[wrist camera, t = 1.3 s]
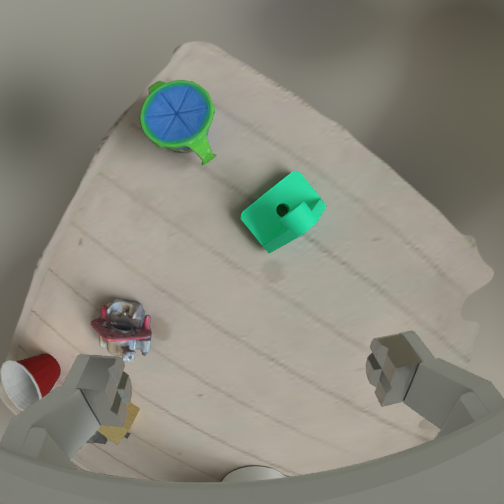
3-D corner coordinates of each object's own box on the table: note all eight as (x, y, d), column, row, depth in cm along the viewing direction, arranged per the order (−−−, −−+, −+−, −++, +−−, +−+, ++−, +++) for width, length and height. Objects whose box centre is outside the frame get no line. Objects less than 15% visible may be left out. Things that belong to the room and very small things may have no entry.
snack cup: (236, 155, 50) (235, 137, 40) (180, 186, 50) (167, 176, 40) (193, 84, 49) (185, 56, 39) (141, 114, 49) (122, 91, 39)
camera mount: (293, 171, 51) (307, 157, 41) (322, 206, 52) (342, 201, 41) (237, 216, 51) (238, 212, 41) (267, 252, 52) (274, 257, 41)
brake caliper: (158, 294, 49) (139, 353, 40) (162, 330, 56) (147, 383, 47) (99, 282, 48) (73, 336, 40) (110, 318, 55) (90, 368, 46)
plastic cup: (34, 331, 50) (0, 349, 38) (75, 359, 51) (45, 385, 39) (26, 370, 51) (-4, 392, 39) (64, 397, 52) (38, 425, 40)
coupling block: (143, 411, 52) (132, 433, 44) (132, 424, 53) (120, 447, 45) (115, 391, 52) (101, 411, 44) (105, 405, 52) (90, 425, 44)
